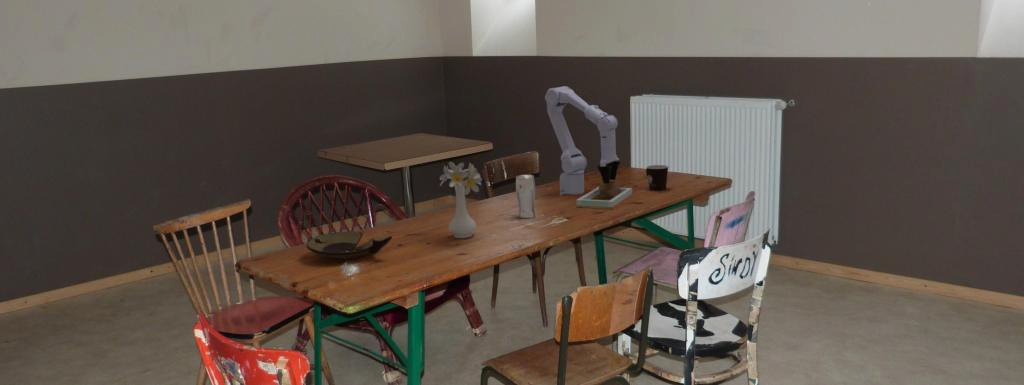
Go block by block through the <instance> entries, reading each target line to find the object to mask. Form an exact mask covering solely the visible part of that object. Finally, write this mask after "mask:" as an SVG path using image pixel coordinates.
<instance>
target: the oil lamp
mask: <svg viewBox="0 0 1024 385" xmlns="http://www.w3.org/2000/svg"><path fill="white" fill-rule="evenodd" d="M362 237H363V233H362V232H360V231H337V232H333V233H332V232H331V233H325V234H319V235H315V237H311V238H308V239H307V242H306V248H307V249H308V250H309V251H311V253H314V254H317V255H319V256H323V257H325V258H330V259H337V260H340V259H341V260H344V259H343V258H347V259H352V257H353V258H357V257H360V256H364V255H367V254H369V255H375V254H378V252H380V251H381V250H382V249H383V247H385V246H386V245H387V244H388V243H389V242H390V241H391V240H392V239H393V236H392V235H388V236H386V237H384V238H383V237H381V236H376V237H373V238H371V239H369V240H368V241H366V242H364V243H362V244H361V245H359V243H360V241H361V239H362ZM351 250H352V251H351ZM355 250H356V251H355ZM346 251H350V252H346Z"/></svg>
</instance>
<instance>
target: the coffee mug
mask: <svg viewBox="0 0 1024 385" xmlns="http://www.w3.org/2000/svg"><path fill="white" fill-rule="evenodd" d="M668 172H669V165H664V164H653V165H652V164H651V165H647V166H646V169H645V174H646V177H647V181H648V189H649V191H652V192H653V191H654V192H661V191H666V189H667V181H668Z"/></svg>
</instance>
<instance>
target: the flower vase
mask: <svg viewBox="0 0 1024 385" xmlns="http://www.w3.org/2000/svg"><path fill="white" fill-rule="evenodd" d="M464 167H465V163H464V162H460V163H459V164H457V165H456V164H455V163H454V162H452V161H448V165H447V166H446V165H443V174H441V175H440V176H439V180H440V181H441V182H440V184H439V187H441V186H442V185H443V184H444V183H445V182H446V181H447V180H448V179H450V182H449V183H448V185H449V186H448V187H450V188H453V187H454V189H455V190H454V191H455V201H456V202H455V203H456V206H455V208H456V209H455V214H454V216H453V218H452V219H451V220H450V222H449V224H448V230H449V231H450V233H451V234H453V237H454V238H455V239H468V238H471V237H472V236H473V233H474V232H475V230H476V229H477V223H476V221H475V219H473V218H472V217H471V216H470V214H469V213H468V210H467V204H466V195H468V194H469V193H471V190H472V191H473V192H475V193H479V192H480V189H479V186H478V185H480V186H481V185H482V183H481V182H482V180H483V178H482V177H481V174H480V173H479V172H478V169H477V168H475V166H474V164H472V163H471V162H469V164H468V168H465V169H463V168H464ZM477 184H478V185H477Z"/></svg>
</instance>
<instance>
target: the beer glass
mask: <svg viewBox="0 0 1024 385" xmlns="http://www.w3.org/2000/svg"><path fill="white" fill-rule="evenodd" d="M515 192H516V197H517V198H516V199H517V202H518V206H519V207H518V208H519V209H518V218H519V219H532V218H534V217H536V213H535V209H534V208H535V207H534V206H535V203H534V202H535V196H536V182H535V176H534V174H533V175H532V174H520V175H516V177H515Z"/></svg>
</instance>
